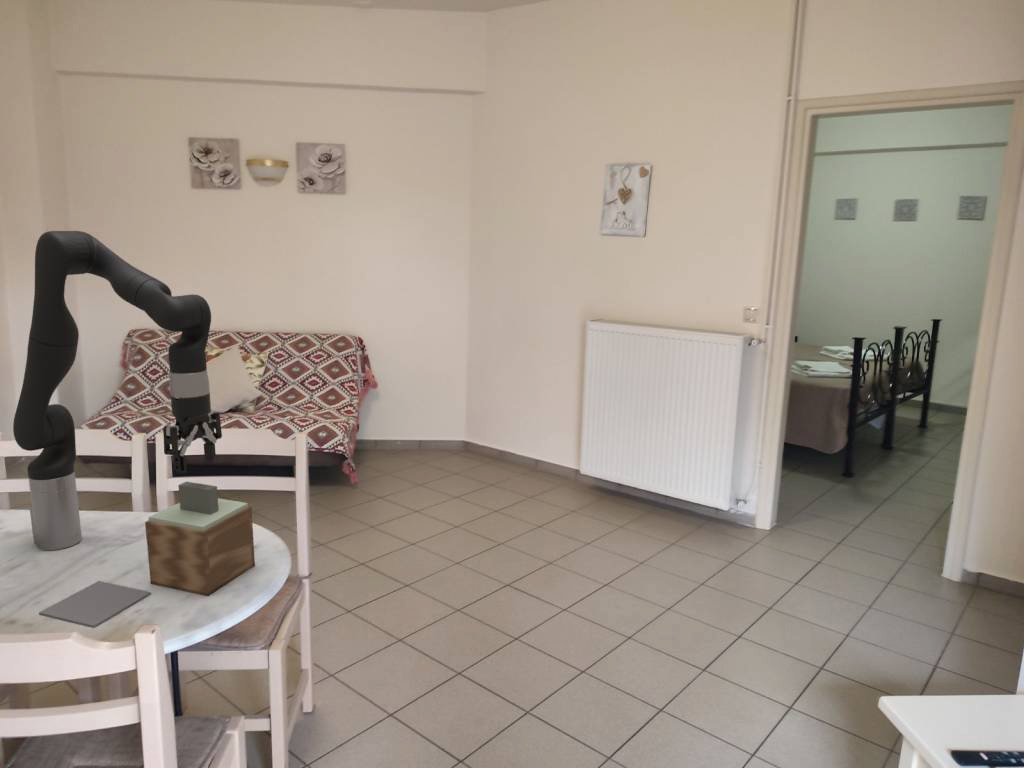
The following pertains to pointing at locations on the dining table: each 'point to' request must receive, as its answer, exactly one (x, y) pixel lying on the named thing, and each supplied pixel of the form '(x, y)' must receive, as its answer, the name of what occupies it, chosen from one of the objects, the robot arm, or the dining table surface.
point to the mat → (95, 604)
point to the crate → (200, 554)
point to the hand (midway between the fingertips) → (195, 466)
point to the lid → (198, 508)
